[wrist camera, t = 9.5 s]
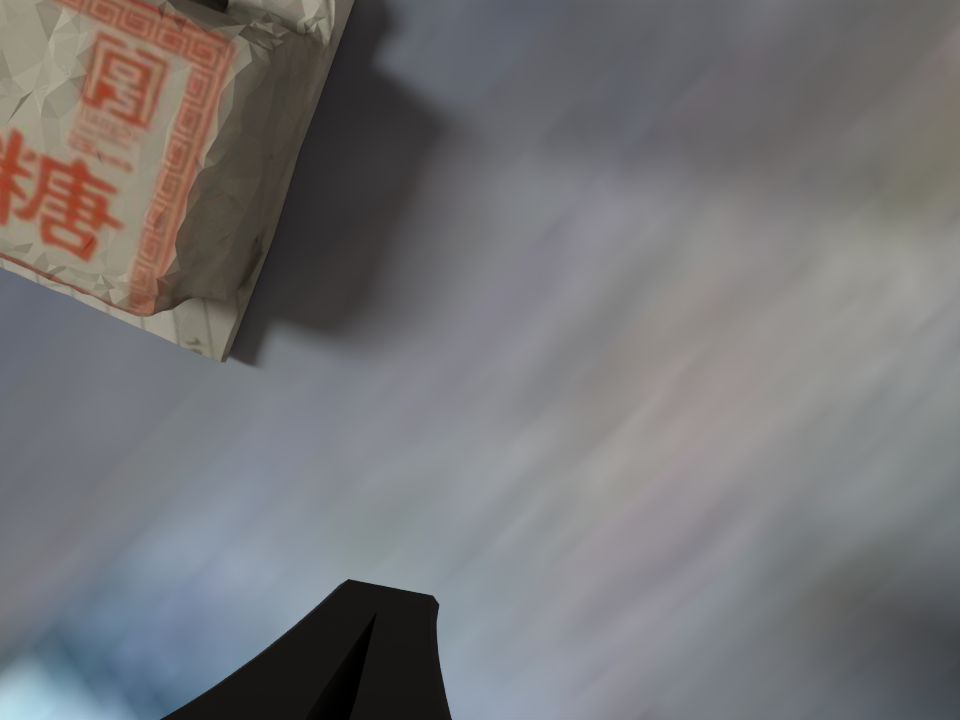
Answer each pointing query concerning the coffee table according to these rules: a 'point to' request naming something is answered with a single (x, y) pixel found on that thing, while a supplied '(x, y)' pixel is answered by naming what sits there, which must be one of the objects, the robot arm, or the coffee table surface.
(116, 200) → the packaged product
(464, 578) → the coffee table surface
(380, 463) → the coffee table surface
